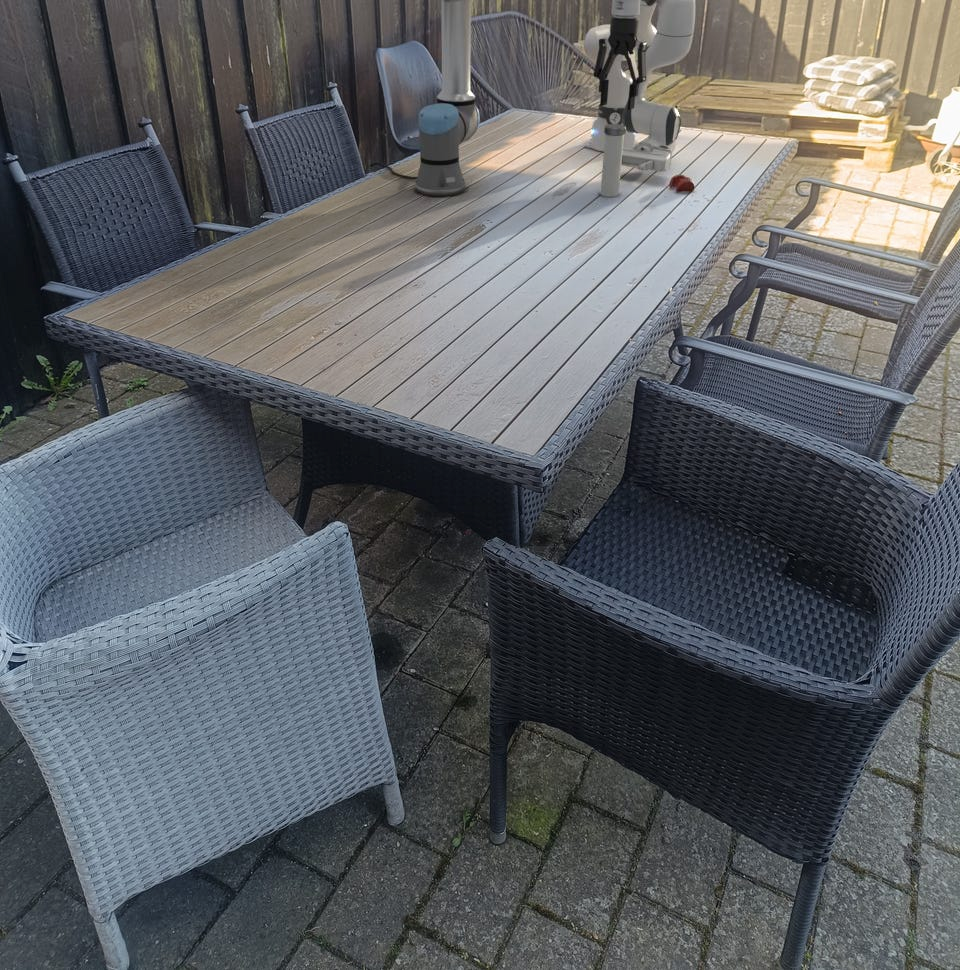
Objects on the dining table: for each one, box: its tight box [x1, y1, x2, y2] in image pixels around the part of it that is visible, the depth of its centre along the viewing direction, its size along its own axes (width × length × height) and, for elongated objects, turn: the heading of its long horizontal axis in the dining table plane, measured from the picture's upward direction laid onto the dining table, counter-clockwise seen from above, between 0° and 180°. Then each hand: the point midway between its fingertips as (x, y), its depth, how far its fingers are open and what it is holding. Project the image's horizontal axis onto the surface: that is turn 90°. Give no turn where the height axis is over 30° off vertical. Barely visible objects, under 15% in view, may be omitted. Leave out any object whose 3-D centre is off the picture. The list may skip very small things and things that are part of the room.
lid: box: [604, 124, 626, 135], centre depth 244 cm, size 6×6×2 cm
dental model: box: [668, 174, 695, 193], centre depth 257 cm, size 6×4×8 cm
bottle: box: [599, 134, 624, 198], centre depth 249 cm, size 6×6×19 cm
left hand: (617, 106), depth 240 cm, fingers open, 8 cm apart
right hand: (627, 165), depth 259 cm, fingers open, 8 cm apart
